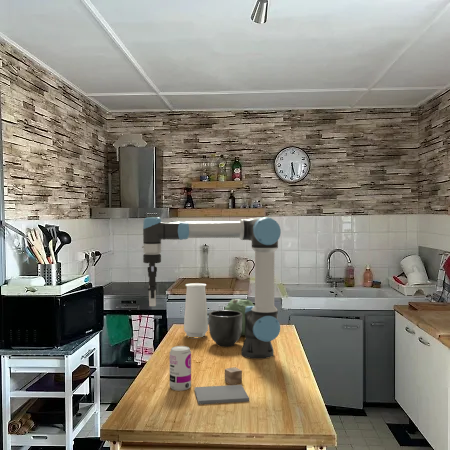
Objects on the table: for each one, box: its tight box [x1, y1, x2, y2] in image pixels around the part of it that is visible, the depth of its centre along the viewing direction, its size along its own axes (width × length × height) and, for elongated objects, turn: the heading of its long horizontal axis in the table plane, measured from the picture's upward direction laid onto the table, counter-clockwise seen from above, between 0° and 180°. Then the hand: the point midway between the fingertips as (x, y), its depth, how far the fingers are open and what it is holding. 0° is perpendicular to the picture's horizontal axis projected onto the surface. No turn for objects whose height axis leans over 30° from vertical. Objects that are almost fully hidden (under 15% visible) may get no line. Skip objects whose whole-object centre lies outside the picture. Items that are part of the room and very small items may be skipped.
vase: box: [183, 282, 209, 338], centre depth 271 cm, size 13×13×28 cm
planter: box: [208, 309, 243, 348], centre depth 253 cm, size 17×17×16 cm
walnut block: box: [224, 366, 243, 385], centre depth 197 cm, size 5×5×5 cm
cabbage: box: [224, 298, 255, 336], centre depth 274 cm, size 16×19×20 cm
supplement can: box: [169, 345, 192, 392], centre depth 191 cm, size 8×8×15 cm
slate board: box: [194, 384, 250, 405], centre depth 182 cm, size 18×14×1 cm
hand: (152, 303), depth 214 cm, fingers open, 13 cm apart
